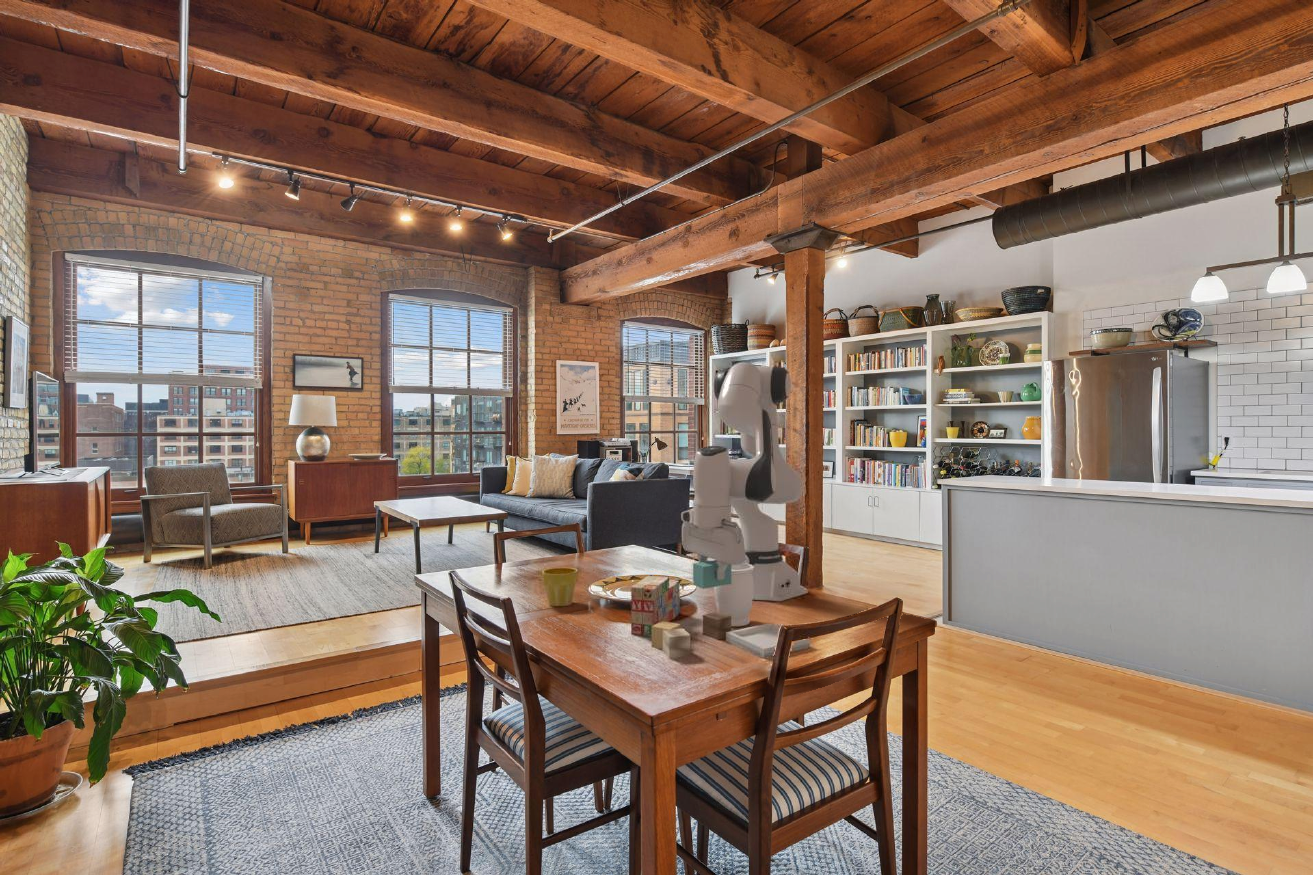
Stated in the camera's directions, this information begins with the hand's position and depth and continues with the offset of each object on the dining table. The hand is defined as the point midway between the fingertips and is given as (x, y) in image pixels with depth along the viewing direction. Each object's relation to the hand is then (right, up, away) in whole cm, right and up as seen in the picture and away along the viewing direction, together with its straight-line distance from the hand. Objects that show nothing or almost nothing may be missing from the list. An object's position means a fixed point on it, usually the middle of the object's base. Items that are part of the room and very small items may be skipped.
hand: (712, 576), depth 156 cm
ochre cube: (-11, -18, +4) cm, 21 cm away
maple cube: (-8, -18, -1) cm, 20 cm away
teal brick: (0, -2, 0) cm, 2 cm away
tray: (+13, -17, +5) cm, 23 cm away
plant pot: (-41, -17, +41) cm, 60 cm away
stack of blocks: (-13, -17, +22) cm, 31 cm away
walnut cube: (+2, -17, +12) cm, 21 cm away
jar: (+8, -17, +22) cm, 29 cm away
